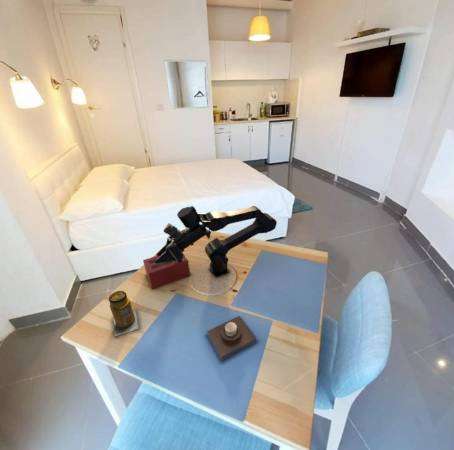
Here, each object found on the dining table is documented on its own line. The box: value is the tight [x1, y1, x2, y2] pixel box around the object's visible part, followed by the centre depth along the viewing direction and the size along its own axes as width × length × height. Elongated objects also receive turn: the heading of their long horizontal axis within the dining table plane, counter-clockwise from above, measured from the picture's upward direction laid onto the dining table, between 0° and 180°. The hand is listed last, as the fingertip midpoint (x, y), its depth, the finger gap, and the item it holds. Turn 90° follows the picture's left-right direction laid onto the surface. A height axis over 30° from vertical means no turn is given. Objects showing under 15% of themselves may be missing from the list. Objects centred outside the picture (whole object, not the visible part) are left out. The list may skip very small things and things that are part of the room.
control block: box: [206, 315, 257, 362], centre depth 78 cm, size 12×10×4 cm
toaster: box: [142, 253, 191, 290], centre depth 105 cm, size 16×10×8 cm, turn 120°
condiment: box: [108, 290, 139, 337], centre depth 82 cm, size 7×8×12 cm
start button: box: [225, 322, 237, 336], centre depth 77 cm, size 4×4×2 cm
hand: (156, 258), depth 93 cm, fingers open, 9 cm apart
